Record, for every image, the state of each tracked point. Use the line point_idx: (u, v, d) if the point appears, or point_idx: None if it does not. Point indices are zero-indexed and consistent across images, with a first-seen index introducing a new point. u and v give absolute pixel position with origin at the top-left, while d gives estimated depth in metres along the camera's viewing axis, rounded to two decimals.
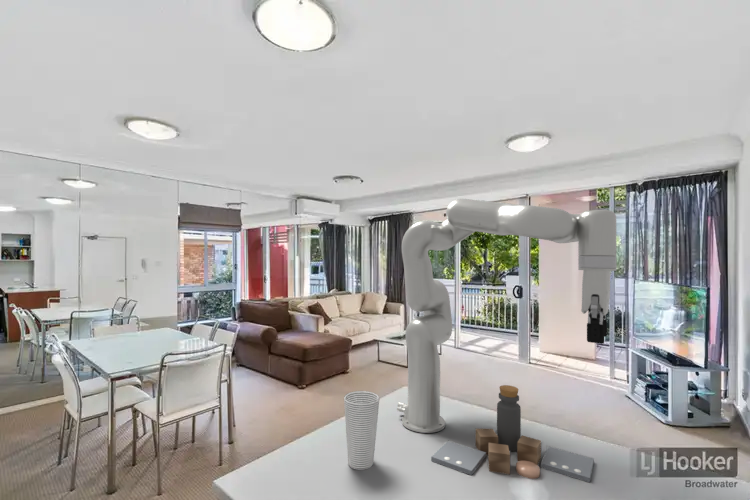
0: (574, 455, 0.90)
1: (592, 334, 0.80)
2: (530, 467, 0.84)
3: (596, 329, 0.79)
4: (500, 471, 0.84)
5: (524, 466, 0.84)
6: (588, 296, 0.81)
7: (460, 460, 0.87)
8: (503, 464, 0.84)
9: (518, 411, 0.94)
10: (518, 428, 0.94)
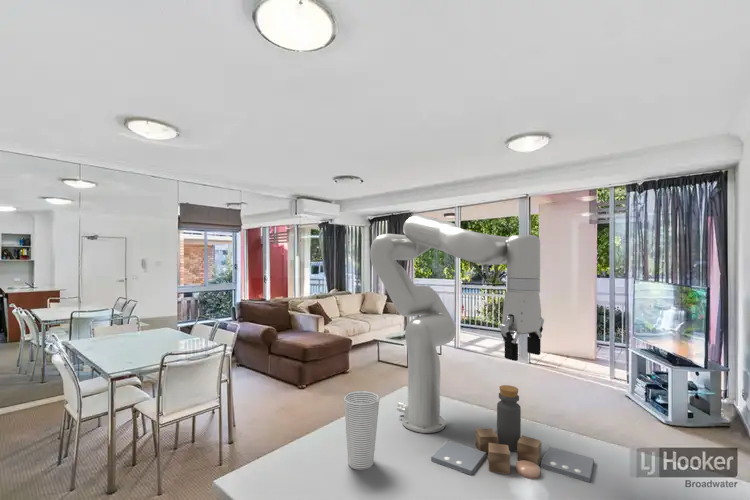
0: (574, 455, 0.90)
1: (507, 351, 0.86)
2: (530, 467, 0.84)
3: (510, 347, 0.85)
4: (500, 471, 0.84)
5: (524, 466, 0.84)
6: (506, 315, 0.87)
7: (460, 460, 0.87)
8: (503, 464, 0.84)
9: (518, 411, 0.94)
10: (518, 428, 0.94)
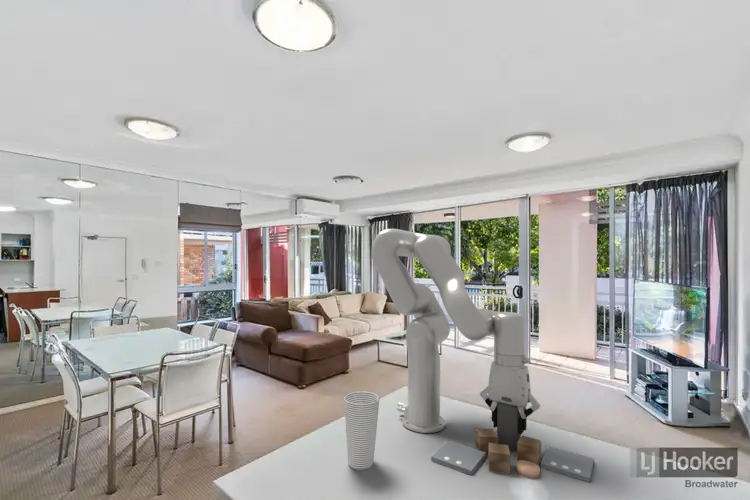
0: (574, 455, 0.90)
1: None
2: (530, 467, 0.84)
3: None
4: (500, 471, 0.84)
5: (524, 465, 0.84)
6: None
7: (460, 460, 0.87)
8: (503, 464, 0.84)
9: (518, 411, 0.94)
10: (518, 428, 0.94)
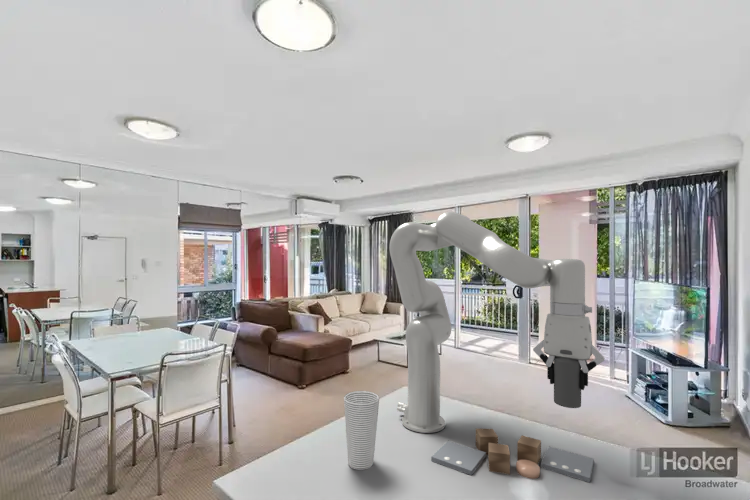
0: (574, 455, 0.90)
1: None
2: (529, 467, 0.84)
3: None
4: (500, 471, 0.84)
5: (524, 465, 0.84)
6: None
7: (460, 460, 0.87)
8: (503, 464, 0.84)
9: (579, 365, 0.86)
10: (579, 383, 0.86)
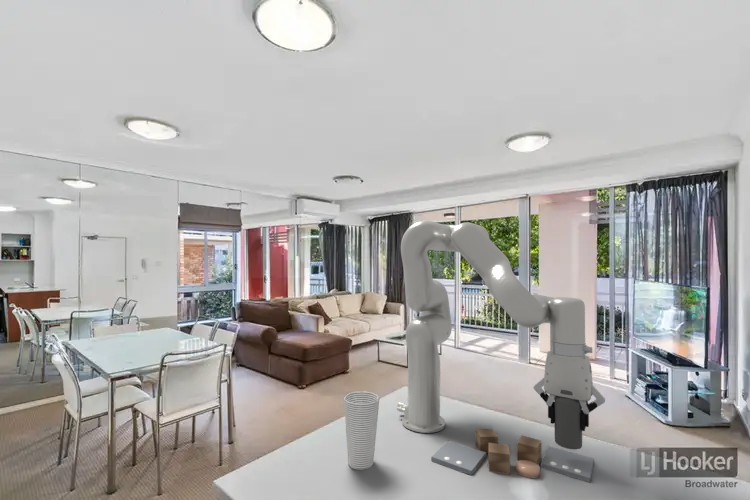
0: (574, 455, 0.90)
1: None
2: (528, 466, 0.84)
3: None
4: (500, 471, 0.84)
5: (524, 464, 0.85)
6: None
7: (460, 460, 0.87)
8: (503, 464, 0.84)
9: (580, 405, 0.86)
10: (580, 424, 0.85)
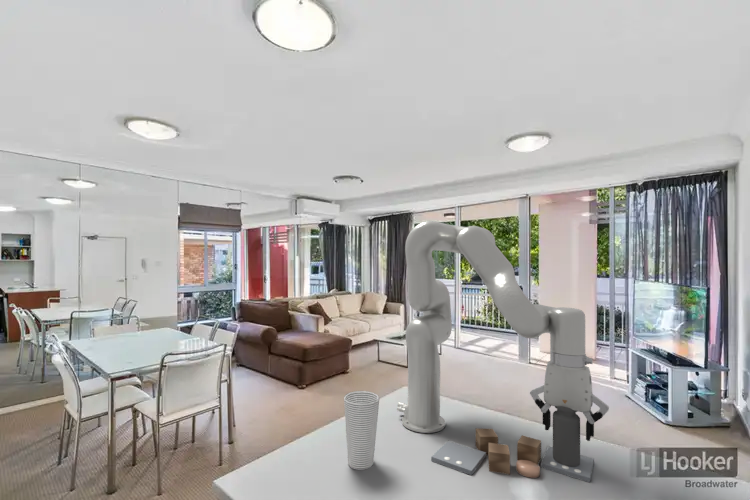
0: None
1: None
2: (527, 465, 0.84)
3: None
4: (500, 471, 0.84)
5: (525, 463, 0.85)
6: None
7: (460, 460, 0.87)
8: (503, 464, 0.84)
9: (578, 422, 0.86)
10: (578, 441, 0.86)
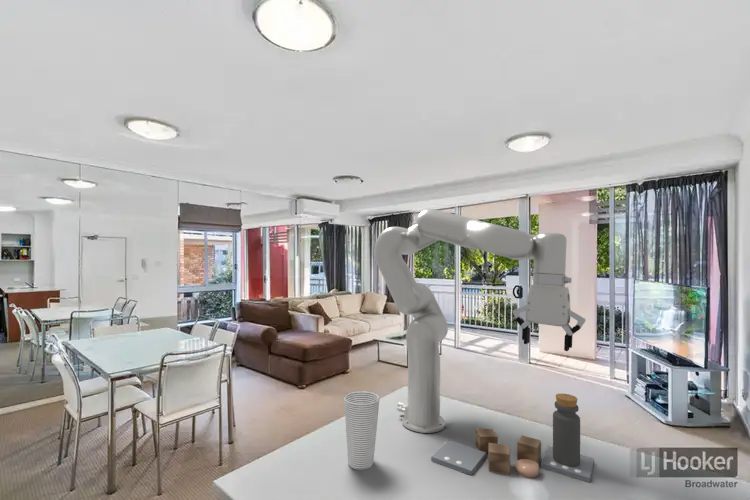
0: None
1: None
2: (524, 464, 0.84)
3: None
4: (500, 471, 0.84)
5: (527, 463, 0.85)
6: None
7: (460, 460, 0.87)
8: (503, 464, 0.84)
9: (578, 422, 0.86)
10: (578, 441, 0.86)
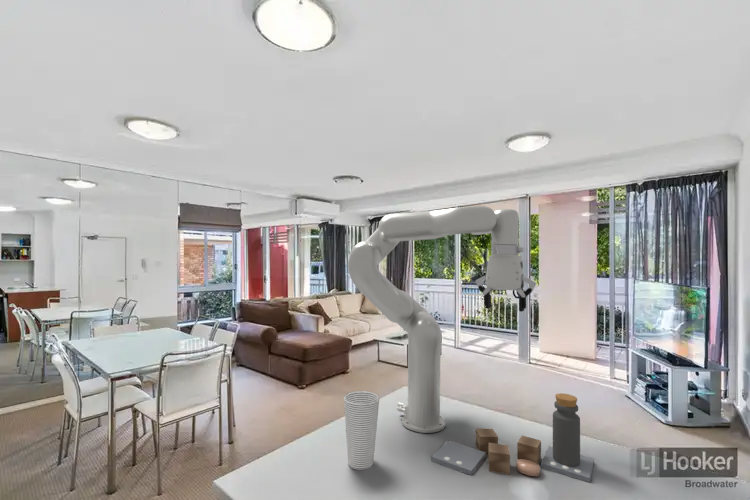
0: None
1: None
2: (527, 462, 0.85)
3: None
4: (500, 471, 0.84)
5: (531, 464, 0.84)
6: None
7: (460, 460, 0.87)
8: (503, 464, 0.84)
9: (578, 422, 0.86)
10: (578, 441, 0.86)
